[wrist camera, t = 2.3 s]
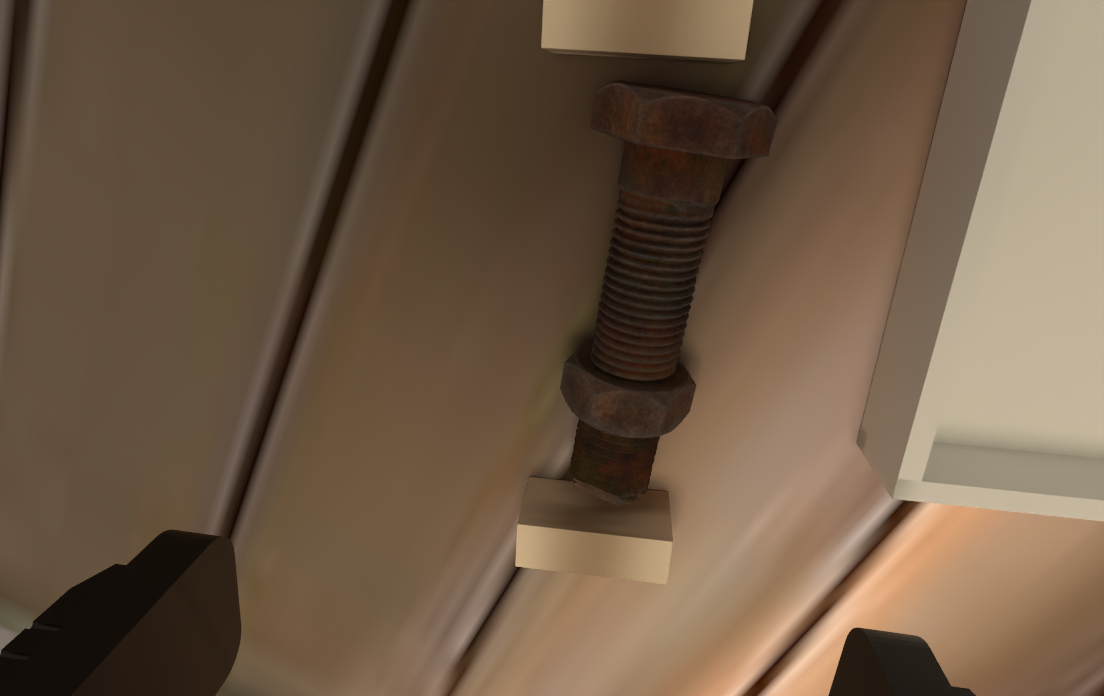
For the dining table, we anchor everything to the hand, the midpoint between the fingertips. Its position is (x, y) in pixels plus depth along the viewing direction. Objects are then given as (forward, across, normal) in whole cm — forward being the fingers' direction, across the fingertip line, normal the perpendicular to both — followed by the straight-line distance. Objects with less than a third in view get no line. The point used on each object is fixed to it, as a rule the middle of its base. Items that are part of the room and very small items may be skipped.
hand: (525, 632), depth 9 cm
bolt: (+19, -2, 0) cm, 19 cm away
